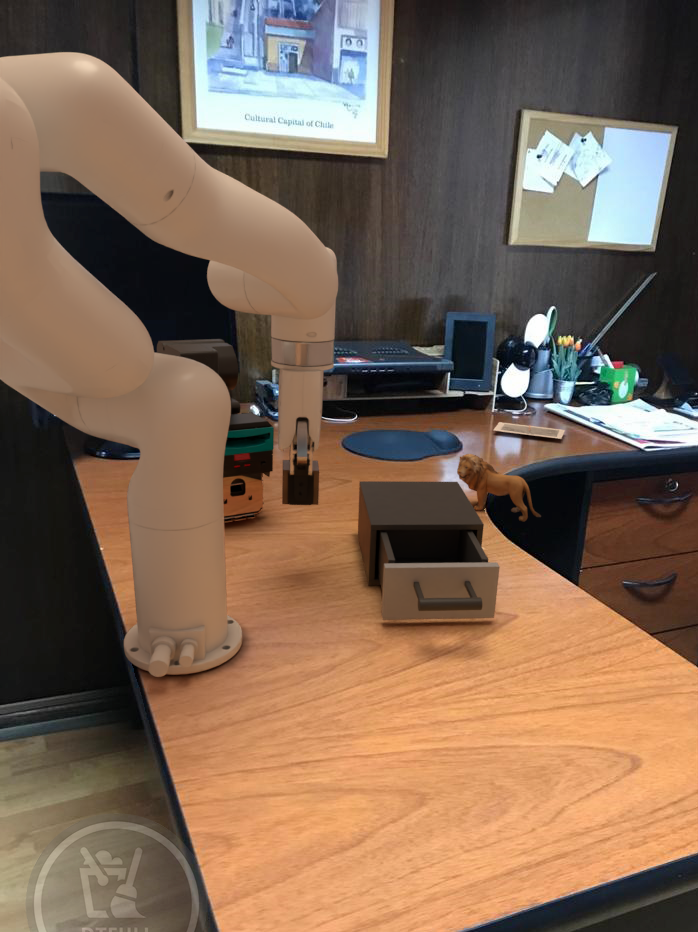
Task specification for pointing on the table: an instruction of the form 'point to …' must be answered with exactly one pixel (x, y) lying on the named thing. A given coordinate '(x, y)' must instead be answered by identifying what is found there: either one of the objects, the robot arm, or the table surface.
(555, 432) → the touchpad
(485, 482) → the lion figurine
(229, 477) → the bill acceptor
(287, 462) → the block
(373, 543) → the cabinet
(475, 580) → the drawer
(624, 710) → the table surface
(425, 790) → the table surface
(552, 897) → the table surface
